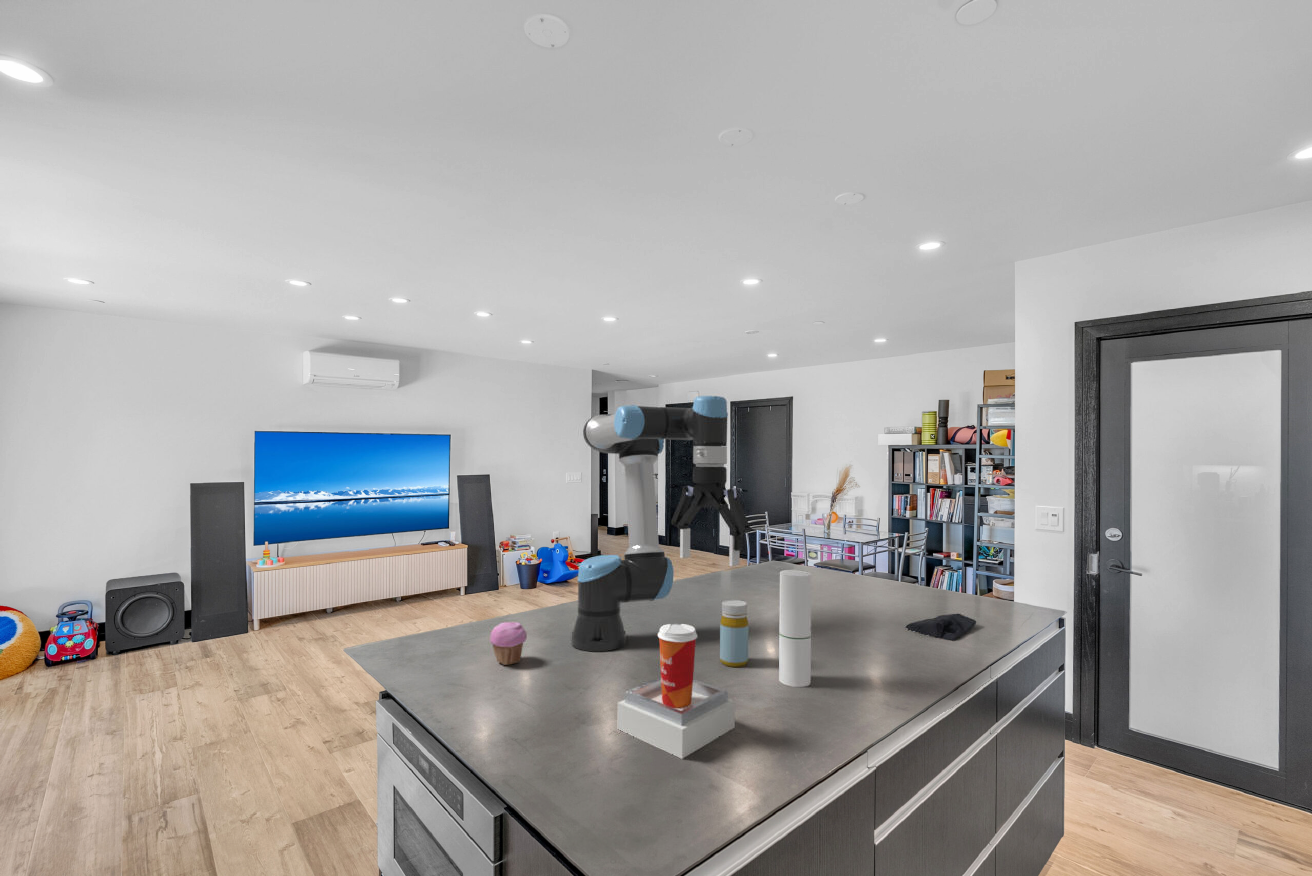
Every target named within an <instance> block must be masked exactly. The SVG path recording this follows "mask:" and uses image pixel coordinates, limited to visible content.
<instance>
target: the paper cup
mask: <svg viewBox="0 0 1312 876" xmlns="http://www.w3.org/2000/svg"><path fill="white" fill-rule="evenodd" d="M657 637H658V639H659V640H658V641H659V661H660V663H659V665H660V677H661V688H662V702H663V704H665V705H667V706H670V707H672V708H684V707H687V706H689V705H690V704H691V699H692V687H693V679H694V670H695V657H696V656H695V655H696V642H697V641H696V640H697V639H698V634H697V632H696V628H695V627H694V626H692V625H690V624H686V623H685V624H684V623H681V624H679V623H673V624H671V623H668V624H667V623H666V624H664V625H662V626H660V627H659V631H658V632H657Z"/></svg>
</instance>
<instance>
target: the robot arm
mask: <svg viewBox="0 0 1312 876" xmlns="http://www.w3.org/2000/svg"><path fill="white" fill-rule="evenodd" d="M727 403H728V401H727V400H726V398H725V397H724V396H718V395H703V396H702V395H700V396H696V397H695V398H694V399H693V405H692V407H671V406H670V407H669V406H666V407H665V406H658V407H656V406H646V405H645V406H644V405H643V406H642V405H640V406H639V405H635V404H634V405H633V404H632V405H622V406H619V407H618V408H617V409H616V411H615V413H613V414H612V413H610V414H609V413H608V414H598V415H595V416H592V417H589V419H588V420H587V421H586V423H585V424H584V427H583V431H582V432H583V434H582V435H583V440H584V441H585V443H586V444H587V446H589V447H590V448H591V449H593V450H595V451H596V452H599V453H603V454H612V455H613V454H616V455H618V461H619V462H620V463H621V464H622V465H623V466H624V477H625V492H626V493H625V496H626V511H627V513H626V514H627V529H628V530H627V531H628V532H627V533H628V535H627V536H628V549H627V550H626V551H625V552H624V554H623V555H624V557H623V558H624V560H623V559H622V558H621V556H620V555H616V554H608V555H607V554H604V555H603V554H602V555H597V556H593V557H589V558H586V559H584V560H582V562H580V564H579V566H578V574H577V583H578V584H577V585H578V586H577V617H576V620H575V622H574V623H575V624H574V626H573V630H572V632H571V635H570V645H571V646H573V648H576V649H577V650H581V651H588V652H607V651H614V650H618V649H620V648H622V647H624V646H625V645H626V644H627V633H626V631H625V628H624V623H623V619H622V616H621V604H623V603H624V604H625V603H636V602H647V601H650V602H653V601H656V600H662V599H665V598H666V597H667V596H668V595H670V592H671V590H672V587H673V582H674V565H673V562H672V560H671V559H670V558H669V557H667V556H665V550H664V549H663V548H662V547H661V546H660V543H659V531H658V529H659V527H658V515H657V514H658V513H657V499H656V485H655V483H656V481H655V469H654V468H655V467H654V464H655V463H656V461H658V460H659V454H661V453H662V452H663V450H664V444H665V440H681V441H692V442H693V443H692V448H693V450H692V463H693V464H694V465H695V466H693V468H692V482H693V483H694V484H693V485H694V486H692V485H684V486H682V489H681V497H680V498H679V500H678V501H679V502H678V504H677V506H676V509H675V510H674V514H673V516H672V518H671V522H670V523H671V525H672V526H675V527H676V528H677V530H678V531H677V542H678V543H680V544H679V545H680V546H679V554H680V555H679V558H680V559H685V558H690V557H691V528H690V526H689V525H690V524H691V522H692V521H693V520H694V518H695V517H696V516H697V514H698V513H699V511H700V510H701V509H702V508H709V509H715V510H716V511H717V512H718V513H719V514H720V516H721V518H722V519H723V520H724V522H725V524H726V525H727V528H728V529H729V530H730V532H731V534H730V535H729V549H728V550H729V553H728V555H729V559H728V560H729V562H728V566H729V567H736V566H739V565H740V551H742V550H743V536H744V535H745V534H747V533H751V531H752V529H751V526H750V523H749V520H748V518H747V515H746V513H745V511H744V508H743V505H742V504H741V500H740V496H739V489H738V488H728V489H727V488H726V484H727V477H728V476H727V475H728V474H727V472H728V471H727V470H728V469H727V468H726V466H725V465H727V462H728V446H727V445H728V444H727V442H728V417H729V416H728V415H729V413H728V405H727ZM693 496H694V499H693ZM725 498H726V499H727V501H728V502H727V501H726V499H725ZM692 499H693V500H692ZM691 500H692V502H691ZM729 506H730V508H729Z"/></svg>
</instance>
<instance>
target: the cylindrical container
mask: <svg viewBox="0 0 1312 876" xmlns="http://www.w3.org/2000/svg"><path fill="white" fill-rule="evenodd" d="M778 626H779V629H778V631H779V635H778V636H779V639H778V640H779V642H778V643H779V645H778V646H779V647H778V650H779V652H778V653H779V655H778V657H779V658H778V659H779V660H778V661H779V662H778V663H779V664H778V665H779V666H778V680H779V682H780V683H781V684H783V685H786V686H789V687H795V688H804V687H808V686H810V685H811V682H812V681H811V678H812V669H811V668H812V667H811V663H812V662H811V661H812V655H811V654H812V649H811V648H812V647H811V646H812V573H811V572H809V571H805V570H799V569H798V570H797V569H785V570H781V571H779V625H778Z"/></svg>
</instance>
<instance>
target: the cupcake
mask: <svg viewBox="0 0 1312 876" xmlns="http://www.w3.org/2000/svg"><path fill="white" fill-rule="evenodd" d="M527 636H528V633H527V631H526V630H525V628H524V627H523V625H522V624H521V623H520V622H516V621H515V622H514V621H508V622H501V623H499V624H498V625H496V626H494V628H493V629H492V630H491V633H490V638H489V639H490V640H489V641H490V644H492V648H493V653H494V655H495V658H496V661H497V662H498V663H500V664H502V665H503V666H509V665H513V664H517V663H520V660H521V658H522V653H523V647H524V643H525V642H526V641H527Z"/></svg>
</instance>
